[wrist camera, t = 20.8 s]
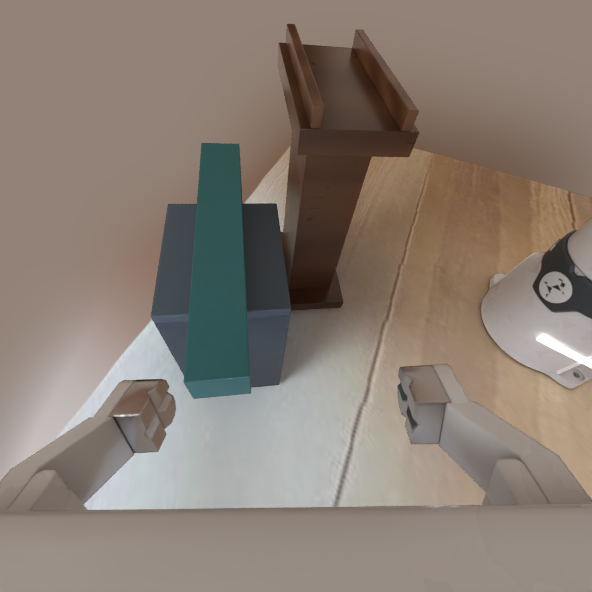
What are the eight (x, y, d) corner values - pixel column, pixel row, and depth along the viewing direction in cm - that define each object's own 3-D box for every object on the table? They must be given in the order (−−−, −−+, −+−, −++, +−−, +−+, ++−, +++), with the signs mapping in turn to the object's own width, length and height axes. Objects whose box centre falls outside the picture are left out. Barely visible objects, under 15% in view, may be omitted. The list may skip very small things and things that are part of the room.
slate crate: (279, 385, 38) (291, 308, 23) (193, 393, 36) (150, 316, 22) (271, 302, 44) (276, 203, 30) (198, 306, 43) (167, 203, 28)
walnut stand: (342, 313, 44) (428, 111, 22) (280, 317, 43) (302, 105, 20) (323, 233, 53) (370, 30, 31) (270, 234, 52) (279, 22, 29)
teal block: (251, 393, 19) (249, 376, 17) (193, 399, 19) (183, 382, 16) (240, 171, 32) (239, 143, 30) (205, 171, 32) (201, 142, 29)
